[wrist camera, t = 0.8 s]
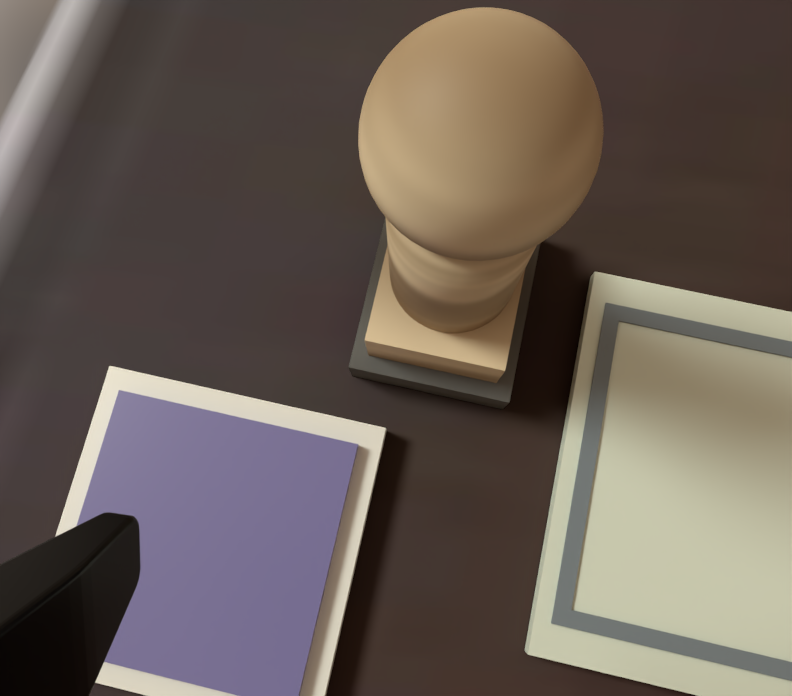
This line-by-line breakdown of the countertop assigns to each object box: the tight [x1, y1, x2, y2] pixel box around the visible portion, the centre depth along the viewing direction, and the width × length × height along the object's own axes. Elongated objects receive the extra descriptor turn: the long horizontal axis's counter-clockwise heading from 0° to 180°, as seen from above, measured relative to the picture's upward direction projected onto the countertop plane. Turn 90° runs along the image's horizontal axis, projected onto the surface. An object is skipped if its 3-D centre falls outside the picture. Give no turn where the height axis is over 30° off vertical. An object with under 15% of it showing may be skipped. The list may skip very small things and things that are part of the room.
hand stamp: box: [349, 7, 603, 409], centre depth 17 cm, size 6×5×13 cm
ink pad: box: [55, 366, 387, 696], centre depth 22 cm, size 9×9×1 cm
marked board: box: [525, 272, 792, 696], centre depth 22 cm, size 12×11×1 cm
